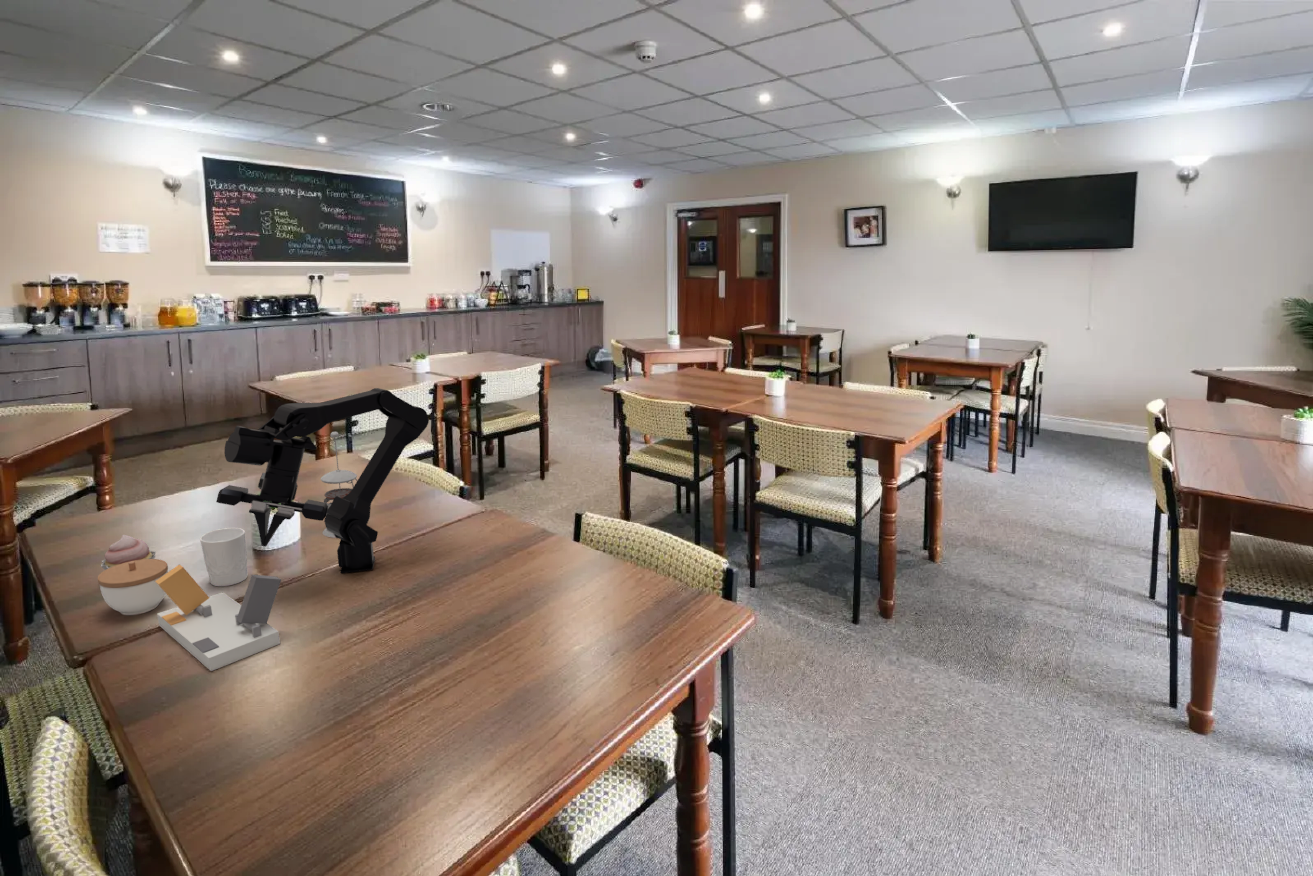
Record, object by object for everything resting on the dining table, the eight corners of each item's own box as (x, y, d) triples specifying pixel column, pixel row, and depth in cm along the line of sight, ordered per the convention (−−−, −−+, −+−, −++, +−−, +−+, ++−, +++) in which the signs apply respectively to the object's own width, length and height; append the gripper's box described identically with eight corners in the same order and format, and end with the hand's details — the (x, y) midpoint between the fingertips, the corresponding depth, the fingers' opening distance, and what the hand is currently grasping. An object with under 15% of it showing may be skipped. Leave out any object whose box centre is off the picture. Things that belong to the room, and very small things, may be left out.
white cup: (231, 589, 143) (224, 543, 140) (197, 585, 144) (190, 540, 142) (259, 573, 150) (253, 529, 148) (227, 569, 152) (221, 526, 149)
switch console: (224, 603, 137) (221, 583, 136) (280, 643, 124) (277, 621, 122) (159, 625, 129) (155, 604, 128) (210, 671, 115) (207, 648, 114)
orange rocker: (205, 596, 132) (175, 561, 127) (217, 605, 129) (186, 569, 124) (182, 613, 130) (151, 578, 125) (194, 622, 127) (162, 587, 122)
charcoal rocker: (255, 624, 127) (272, 574, 128) (268, 633, 124) (285, 582, 124) (230, 623, 123) (247, 571, 124) (243, 633, 120) (260, 580, 121)
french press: (313, 535, 170) (302, 435, 164) (342, 518, 181) (332, 424, 175) (350, 539, 169) (340, 438, 163) (377, 521, 180) (368, 426, 174)
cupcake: (133, 568, 152) (125, 524, 149) (170, 572, 150) (163, 528, 147) (92, 587, 143) (82, 541, 140) (130, 592, 141) (122, 545, 139)
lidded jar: (133, 593, 141) (125, 550, 138) (186, 595, 140) (179, 551, 138) (90, 620, 130) (80, 574, 128) (147, 622, 130) (138, 575, 128)
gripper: (338, 473, 149) (320, 545, 149) (240, 454, 143) (221, 529, 142) (332, 480, 138) (313, 557, 138) (226, 459, 132) (205, 540, 132)
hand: (264, 545), depth 138 cm, fingers closed
